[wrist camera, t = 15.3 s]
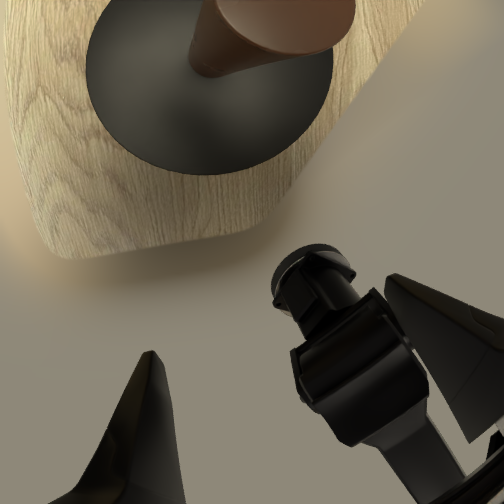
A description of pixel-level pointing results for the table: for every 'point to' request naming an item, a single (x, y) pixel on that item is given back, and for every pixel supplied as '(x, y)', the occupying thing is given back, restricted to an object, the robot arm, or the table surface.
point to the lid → (212, 77)
